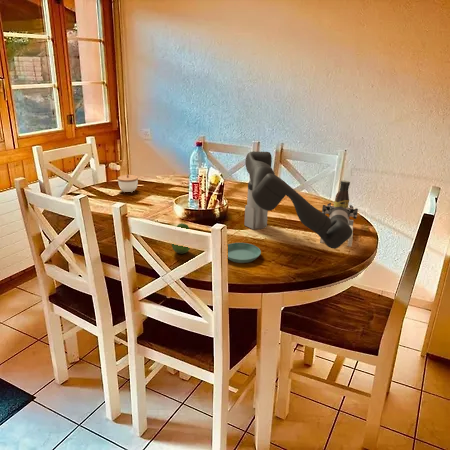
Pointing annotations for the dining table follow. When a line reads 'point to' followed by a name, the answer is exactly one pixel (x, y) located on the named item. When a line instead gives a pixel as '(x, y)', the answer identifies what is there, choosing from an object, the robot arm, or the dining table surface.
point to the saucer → (243, 252)
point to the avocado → (179, 248)
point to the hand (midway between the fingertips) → (340, 206)
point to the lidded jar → (128, 183)
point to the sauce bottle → (342, 195)
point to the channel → (349, 238)
